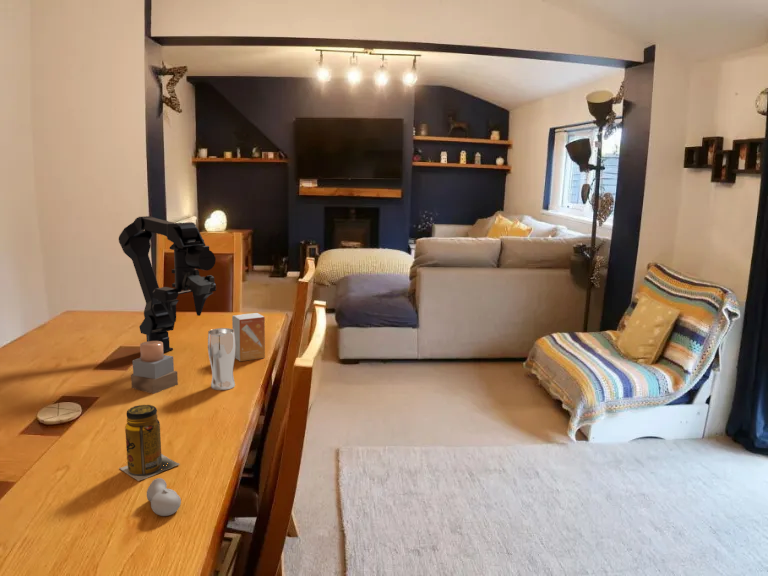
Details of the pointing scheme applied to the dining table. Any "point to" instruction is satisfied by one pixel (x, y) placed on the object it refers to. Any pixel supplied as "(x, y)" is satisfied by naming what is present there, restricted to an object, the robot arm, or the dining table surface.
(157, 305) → the robot arm
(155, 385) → the walnut base block
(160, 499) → the pale two-lobed sculpture
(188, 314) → the dining table surface
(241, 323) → the small box
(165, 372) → the grey top block
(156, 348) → the brown rounded cylinder
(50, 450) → the dining table surface
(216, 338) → the beer glass
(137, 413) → the condiment
